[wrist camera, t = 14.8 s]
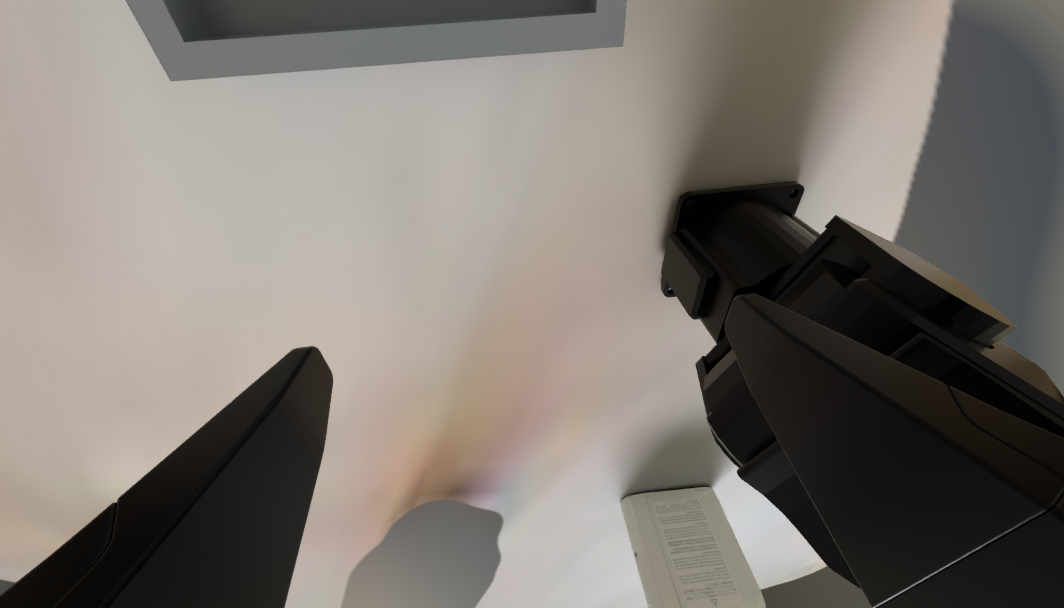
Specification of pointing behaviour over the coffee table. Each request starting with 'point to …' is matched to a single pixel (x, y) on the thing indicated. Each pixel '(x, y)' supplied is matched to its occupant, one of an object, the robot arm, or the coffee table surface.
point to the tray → (363, 32)
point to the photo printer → (688, 551)
